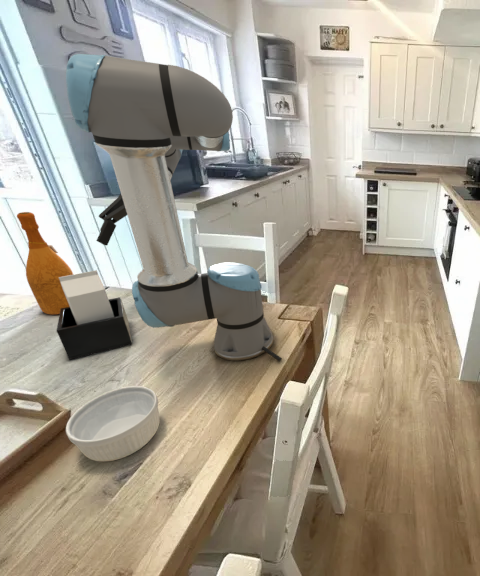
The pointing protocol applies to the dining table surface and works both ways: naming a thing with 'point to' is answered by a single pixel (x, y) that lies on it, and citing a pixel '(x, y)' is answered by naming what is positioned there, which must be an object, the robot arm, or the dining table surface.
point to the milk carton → (86, 297)
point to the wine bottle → (44, 268)
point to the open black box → (94, 332)
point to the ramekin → (115, 423)
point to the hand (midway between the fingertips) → (124, 245)
